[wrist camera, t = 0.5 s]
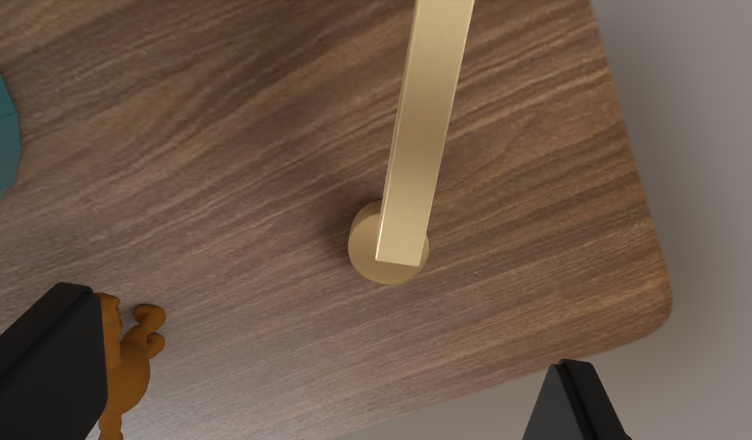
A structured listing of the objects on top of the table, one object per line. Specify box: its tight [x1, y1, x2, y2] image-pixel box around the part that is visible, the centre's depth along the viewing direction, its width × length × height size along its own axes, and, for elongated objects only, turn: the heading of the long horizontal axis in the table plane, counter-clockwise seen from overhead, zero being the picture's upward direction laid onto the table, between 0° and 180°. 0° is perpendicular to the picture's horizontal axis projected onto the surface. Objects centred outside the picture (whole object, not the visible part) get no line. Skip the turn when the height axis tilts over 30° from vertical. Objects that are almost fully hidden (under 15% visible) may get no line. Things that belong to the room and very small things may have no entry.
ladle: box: [348, 0, 475, 284], centre depth 24 cm, size 17×4×9 cm, turn 172°
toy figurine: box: [93, 293, 166, 440], centre depth 31 cm, size 12×4×7 cm, turn 170°
